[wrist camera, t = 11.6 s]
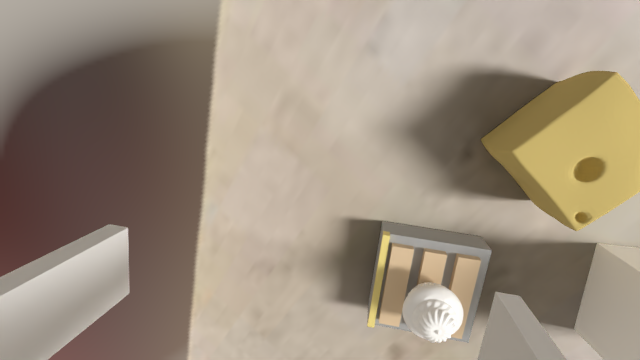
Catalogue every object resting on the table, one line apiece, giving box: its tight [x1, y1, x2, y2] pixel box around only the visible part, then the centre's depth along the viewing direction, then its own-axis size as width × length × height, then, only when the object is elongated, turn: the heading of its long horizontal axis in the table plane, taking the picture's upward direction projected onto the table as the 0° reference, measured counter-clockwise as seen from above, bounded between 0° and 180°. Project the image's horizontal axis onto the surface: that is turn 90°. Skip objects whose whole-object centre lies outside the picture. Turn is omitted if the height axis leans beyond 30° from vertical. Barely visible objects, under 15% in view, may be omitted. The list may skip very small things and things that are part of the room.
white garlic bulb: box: [402, 282, 463, 343], centre depth 37 cm, size 6×6×7 cm
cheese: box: [481, 71, 640, 231], centre depth 35 cm, size 10×11×10 cm
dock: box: [367, 221, 492, 343], centre depth 43 cm, size 12×12×5 cm
